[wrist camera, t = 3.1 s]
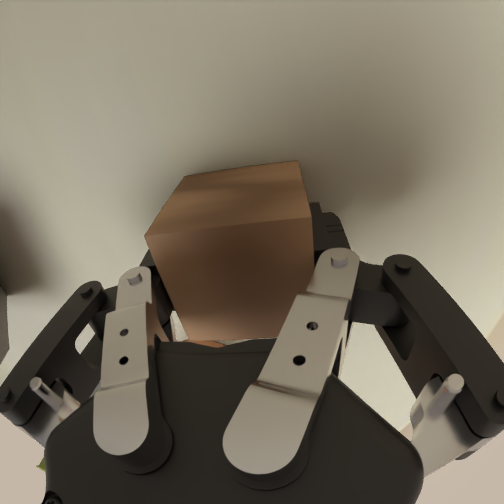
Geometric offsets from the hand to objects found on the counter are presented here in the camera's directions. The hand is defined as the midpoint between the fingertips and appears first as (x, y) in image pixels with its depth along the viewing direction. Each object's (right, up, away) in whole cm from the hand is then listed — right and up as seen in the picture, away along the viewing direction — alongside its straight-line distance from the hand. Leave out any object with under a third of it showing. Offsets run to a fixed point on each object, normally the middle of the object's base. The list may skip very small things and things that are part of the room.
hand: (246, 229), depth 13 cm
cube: (0, +1, +1) cm, 1 cm away
